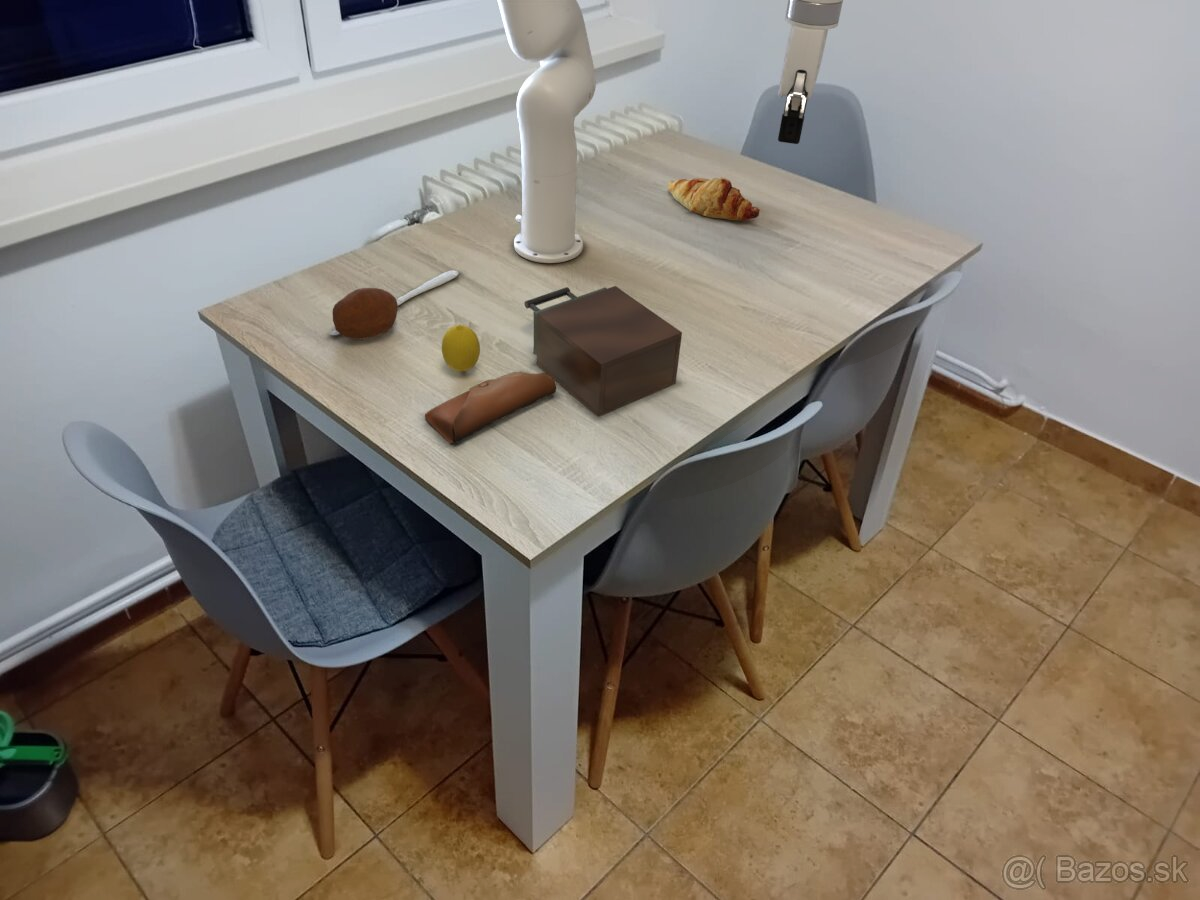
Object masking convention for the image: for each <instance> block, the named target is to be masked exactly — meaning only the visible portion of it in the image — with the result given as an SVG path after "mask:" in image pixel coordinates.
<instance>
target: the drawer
mask: <svg viewBox="0 0 1200 900" xmlns="http://www.w3.org/2000/svg"><path fill="white" fill-rule="evenodd" d="M605 289H608V287H602V288H600V289H597V290H593V291H591V292H588V293H585V294H582V295H579V296H577V295H575V294H574V293H573V292H571V289H570V288H569V287H568V286H566V287H562V288H560V289H557V290H554V291H551V292H548V293H545V294H542V295H540V296H539V295H538V296H536V297H533V298H531V299H528V300H525V301H524V303H523V304H524V307H525V308H526V309H527V310H528V309H530V310H532V311H533V354H534V355H535V356H537V313H539V312H542V311H545V310H548V309H550V308H553V307H556V306H559V305H562V304H565V303H568V302H571V301H573V300H576V299H579V298H582V297H585V296H588V295H591V294H593V293H596V292H599V291H602V290H605ZM565 296H567V298H569V299H567V300H564V301H561V302H559V303H556V304H553V305H550V306H547V307H544V308H542V309H540V308H539V307H537V306H540V305H543V304H545V303H548V302H551V301H554V300H557V299H560V298H563V297H565Z"/></svg>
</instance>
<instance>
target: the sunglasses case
mask: <svg viewBox="0 0 1200 900" xmlns="http://www.w3.org/2000/svg"><path fill="white" fill-rule="evenodd" d="M556 392H557V385H556V381H555V380H554V379H553V378H552V377H551V376H550V375H548V374H547V373H546V372H542V373H541V372H540V373H539V372H538V373H528V372H522V371H513V372H510V373H507V374H503V375H500V376H498V377H496V378H493V379H492V378H491V379H487V380H484V381H481V382H480V383H477V384H475V385H472V386H471V387H470V388H469V389H468V390H467V391H465V392H462V393H460V394H458V395H456V396H454V397H451V398H449V399H447V400H446V401H444V402H442V403H439V404H438V405H436V406H434V407H433V408H431V409H430V410H428V411H427V412H425V413H424V419H425V421H426V422H427V423H428V424H429V425H430V426H431V427H432V428H433V429H434V430H435V431H436V432H437V433H438V434H439V435H440V436H441V437H442V438H443V439H444V440H445V441H447V443H449V444H450V445H455V444H456V443H457V442H458V443H460V442H461V441H464V440H465V439H467V438H469V437H471V436H473V435H474V434H476V433H477V432H479V431H481V430H483V429H484V428H487V427H489V426H490V425H492V424H493V423H495V422H497V421H499V420H502V419H504V418H505V417H508V416H510V415H512V414H514V413H516V412H518V411H519V410H521V409H523V408H526V407H528V406H530V405H532V404H534V403H536V402H538V401H540V400H542V399H545V398H546V397H548V396H551V395H553V394H555V393H556Z"/></svg>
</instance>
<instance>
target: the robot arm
mask: <svg viewBox="0 0 1200 900" xmlns="http://www.w3.org/2000/svg"><path fill="white" fill-rule="evenodd" d="M843 3H844V0H787V4H786V5H787V6H786V11H785V16H784V20H785V21H786V22H787V23H788V24H789V25H790V29H789V32H788V38H787V43H786V46H785V47H786V48H785V53H784V58H783V63H782V70H781V75H780V81H779V88H778V94H777V95H778V97H779V98H783V97H786V99H785V104H784V109H783V113H782V114H781V121H780V125H779V126H780V127H779V131H778V137H777V141H778V142H779V143H786V144H794V145H798V144H800V140H801V136H802V132H803V127H804V122H805V114H806V109H807V104H808V101H809V100H811V98H812V96H813V93H814V89H815V86H816V84H817V79H818V76H819V72H820V69H821V64H822V60H823V56H824V52H825V48H826V42H827V38H828V33H829V30H831V29H835V28H837V27H838V26H839V22H840V17H841V13H842V7H843ZM497 4H498V8H499V12H500V15H501V19H502V23H503V28H504V31H505V35H506V38H507V43H508V46H509V47H510V49H511V51H512V52H513V54H514V55H515V56H516V57H517V58H518V59H519V60H521V61H523V62H525V63H539V65H540V67H539V68H537V69H536V70H535V71H533V72H532V73H531V74H530V75H529V76H528V77H527V78H526V79H525V80H524V82H523V83H522V85H521V87H520V88H519V90H518V93H517V98H516V116H517V121H518V127H519V135H520V150H521V151H520V152H521V153H520V154H521V156H520V157H521V198H522V199H521V214H520V213H517V214H516V216H515V221H516V222H517V223H519V224H520V232H519V233H518V234H516V236H515V238H513V239H514V240H513V247H514V250H515V252H516V253H517V254H518V255H519V256H520V257H522V258H524V259H526V260H528V261H531V262H536V263H540V264H541V263H542V264H560V263H564V262H567V261H571V260H573V259H575V258H577V257H578V256H580V254H582V251H583V249H584V241H583V239H582V237H581V236H580V234H578V233H576V213H577V212H576V211H577V210H576V209H577V207H576V206H577V180H578V179H577V177H578V176H577V173H578V145H577V138H576V132H575V121H576V117H577V116H578V115H579V114H580V113H581V112H582V111H583V110H584V109H585V108H586V107H588V105H589V104H590V102H592V100H593V97H594V96H595V92H596V86H597V79H596V78H597V77H596V71H595V66H594V60H593V55H592V52H591V47H590V42H589V37H588V33H587V28H586V23H585V19H584V15H583V12H582V9H581V7H580V5H579V3H578V1H577V0H497Z"/></svg>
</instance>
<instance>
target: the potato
mask: <svg viewBox="0 0 1200 900" xmlns="http://www.w3.org/2000/svg"><path fill="white" fill-rule="evenodd" d="M396 299H397V298H396V297H395V296H394V295H393V294H392V293H391V292H389V291H388V290H385V289H382V288H378V287H362V288H361V287H360V288H356V289H354V290H353V291H351V292H349V293H348V294H346V295H345V296H344V297H342V299H340V300H338V301H337V302H336V303H335V304H334V305H333V307H332V322H333V325H334V328H335V329H334V330H336V331H337V332H339V333H340V334H339V335H341V336H342V337H345V338H348V339H353V340H362V339H370V338H374V337H377V336H381V335H383V334H386V333H387V332H389V331H390V330H391V329H392V328H393V326H394V325H395V323H396V322H395V321H396V320H397V316H398V309H399V305H397V301H396Z"/></svg>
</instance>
